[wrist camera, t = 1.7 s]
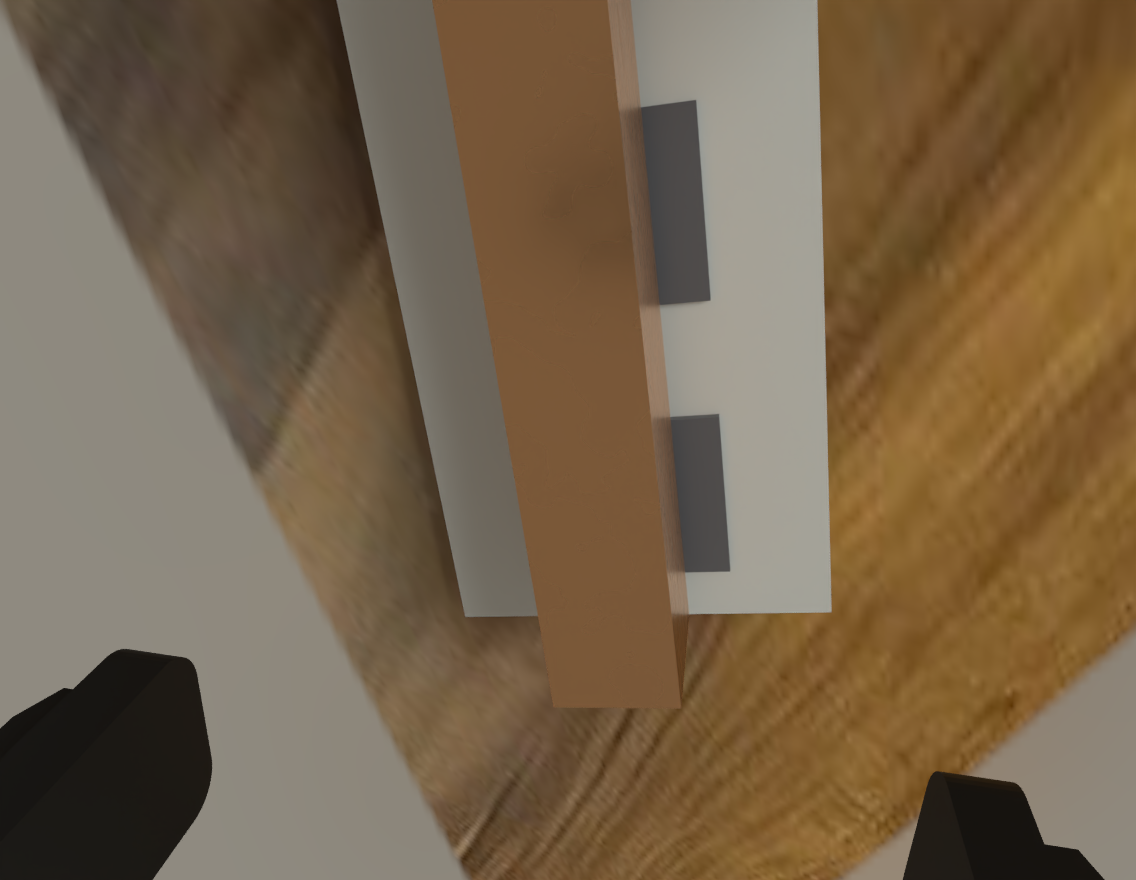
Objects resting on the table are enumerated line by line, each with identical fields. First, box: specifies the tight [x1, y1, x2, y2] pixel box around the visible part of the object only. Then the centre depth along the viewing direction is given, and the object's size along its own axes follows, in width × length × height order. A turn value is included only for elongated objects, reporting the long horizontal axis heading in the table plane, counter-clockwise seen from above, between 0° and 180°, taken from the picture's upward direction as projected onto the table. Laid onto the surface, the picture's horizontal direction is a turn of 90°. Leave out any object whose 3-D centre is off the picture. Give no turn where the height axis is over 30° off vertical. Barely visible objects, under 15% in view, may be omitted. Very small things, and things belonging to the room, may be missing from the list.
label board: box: [337, 0, 831, 617], centre depth 29 cm, size 14×28×3 cm, turn 8°
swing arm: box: [432, 0, 689, 708], centre depth 25 cm, size 4×26×5 cm, turn 8°
